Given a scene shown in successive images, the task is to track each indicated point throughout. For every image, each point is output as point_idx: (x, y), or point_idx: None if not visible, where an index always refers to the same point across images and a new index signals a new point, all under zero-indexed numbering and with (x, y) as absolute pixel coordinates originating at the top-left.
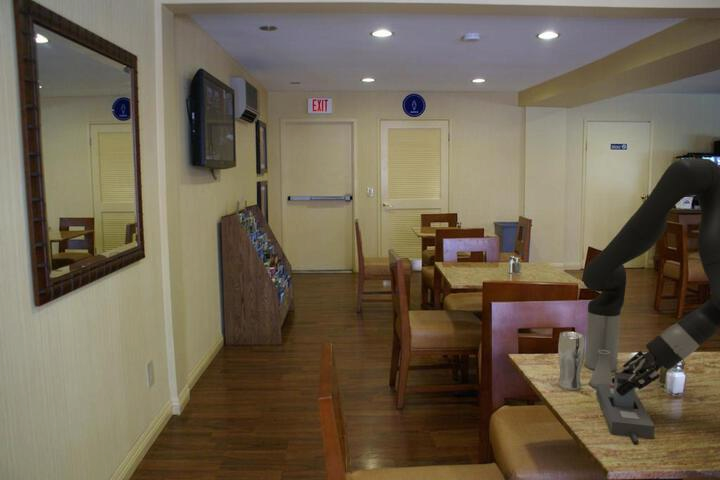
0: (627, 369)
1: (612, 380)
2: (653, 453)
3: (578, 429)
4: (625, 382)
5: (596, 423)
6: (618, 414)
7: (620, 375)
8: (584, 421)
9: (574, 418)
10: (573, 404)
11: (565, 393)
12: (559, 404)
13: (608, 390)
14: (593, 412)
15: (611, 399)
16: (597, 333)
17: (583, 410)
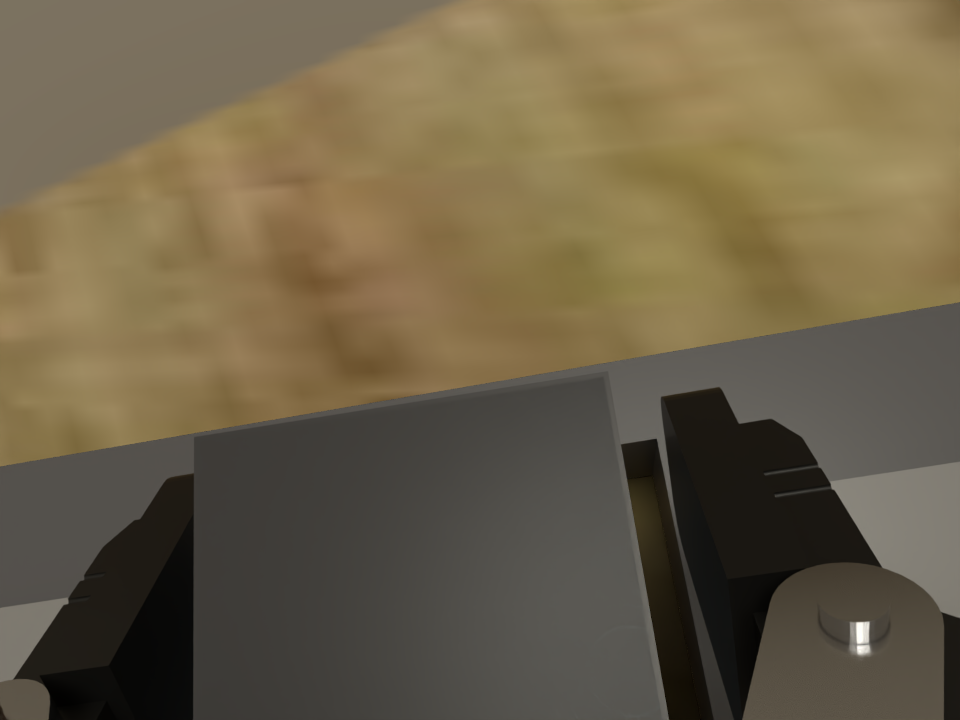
0: (753, 714)
1: (665, 403)
2: None
3: (21, 234)
4: (85, 623)
5: (186, 372)
6: (82, 564)
7: (424, 508)
8: (202, 266)
9: (244, 180)
10: (595, 134)
11: (888, 26)
12: (535, 23)
13: (952, 440)
14: (458, 332)
15: (663, 491)
16: None
17: (472, 236)
